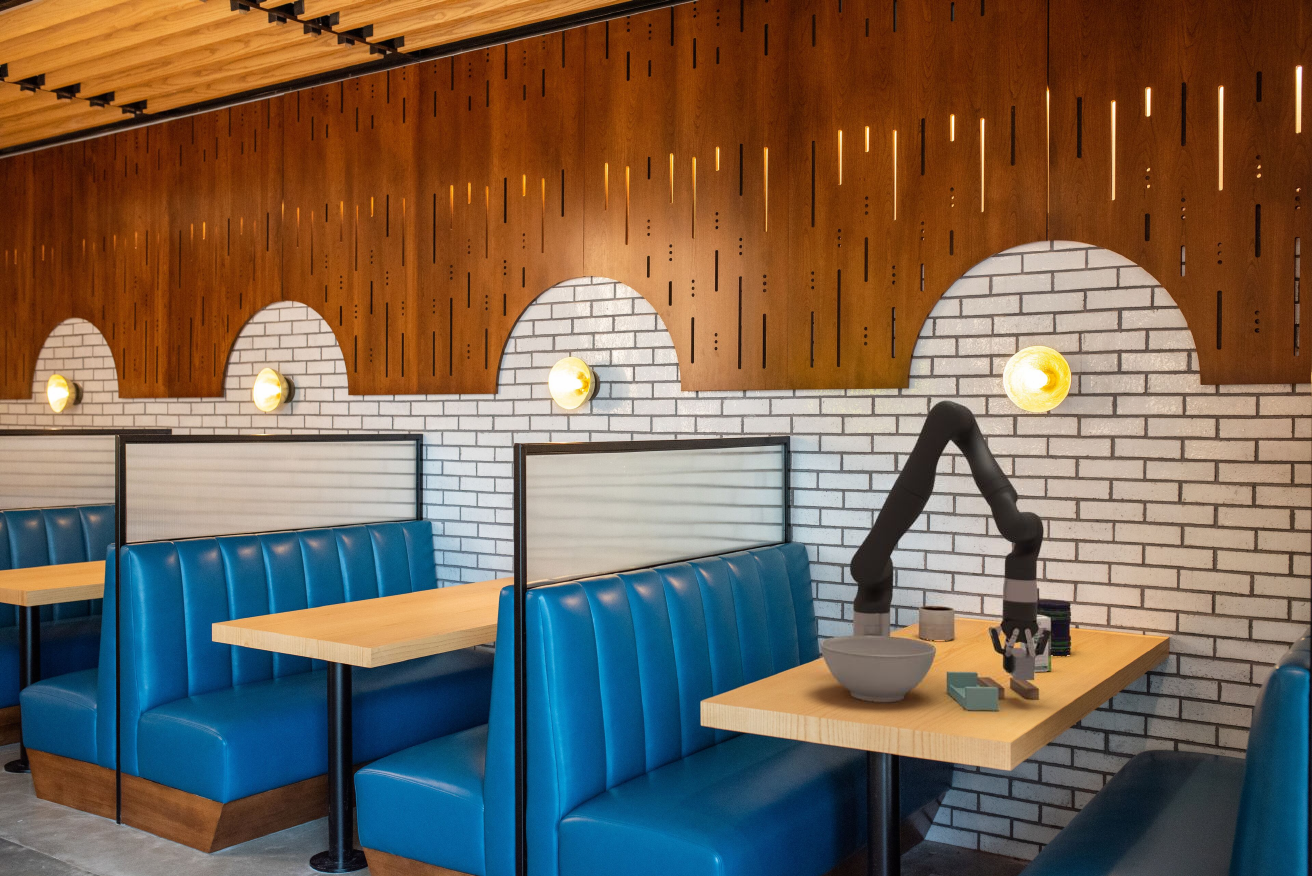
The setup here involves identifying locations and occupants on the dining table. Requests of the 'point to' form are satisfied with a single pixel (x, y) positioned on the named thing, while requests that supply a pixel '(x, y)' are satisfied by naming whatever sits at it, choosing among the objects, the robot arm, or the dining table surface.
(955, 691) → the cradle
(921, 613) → the planter
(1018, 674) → the grey rectangular block
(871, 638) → the decorative bowl
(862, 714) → the dining table surface
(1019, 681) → the slotted beam
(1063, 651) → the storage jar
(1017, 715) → the dining table surface
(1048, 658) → the syrup box
